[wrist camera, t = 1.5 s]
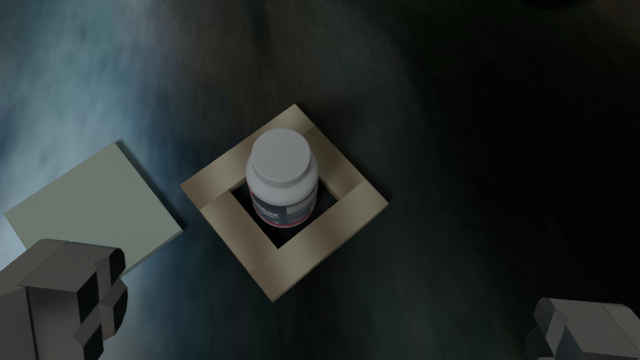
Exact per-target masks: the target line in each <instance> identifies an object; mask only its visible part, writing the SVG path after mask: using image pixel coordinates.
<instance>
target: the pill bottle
mask: <svg viewBox="0 0 640 360" xmlns="http://www.w3.org/2000/svg"><path fill="white" fill-rule="evenodd" d="M318 178H319V170H318V163H317V160H316V158H315V156H314V154H313V153H312V151H311V150H310V147H309V144H308V142H307V141H306V139H305V138H304V137H303V136H302V135H301V134H300V133H298V132H296V131H294V130H292V129H288V128H275V129H271V130H269V131H266V132H265V133H263V134H262V135H261V136H259V137H258V139H257V140H256V141H255V143H254V145H253V148H252V152H251V154H250V156H249V158H248V161H247V164H246V179H247V183H248V187H249V190H250V194H251V197H252V201H253V205H254V208H255V210H256V212H257V214H258V215H259V216H260V217H261V218H262V219H263V220H264V221H265V222H267V223H268V224H270V225H273V226H276V227H281V228H287V227H293V226H296V225H298V224H300V223H302V222H303V221H305V220H306V219H307V218H308V217H309V216H310V215H311V213H312V211H313V210H314V207H315V204H316V199H317V189H318Z"/></svg>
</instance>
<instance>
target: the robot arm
mask: <svg viewBox="0 0 640 360" xmlns="http://www.w3.org/2000/svg"><path fill="white" fill-rule="evenodd" d="M125 269H126V263H125V253H124V252H123V251H122V249H121V248H116V247H109V246H101V245H94V244H87V243H79V242H70V241H66V240H56V239H40V240H39V241H37V242H36V243H35V244H34V245H33V246H31V247H30V248H29V249H28V250H26V251H25V252H24V253H23V254H21V255H20V256H19V257H18V258H16V259H15V260H14V261H13V262H12V263H10V264H9V265H8V266H7V267H5V268H4V269H3V270H2V271H0V360H98V359H99V357H100V356H101V354H102V353H103V351H104V348H103V341H104V340H106V339H108V338H110V337H112V336H113V335H115V334H116V332H117V330H118V329H119V327H120V326H121V324H122V321H123V318H124V315H125V313H126V309H127V300H128V293H127V286H126V285H125V284H124V283H123V281H122V280H121V279H120V277H119V276H120V275H121V274H122V272H123V271H124V270H125ZM534 318H535V320H536V322H537V324H538V326H537V327H536V328H535V329H534V330H532V331H531V332H530V333H528V334H527V338H526V342H525V345H524V357H523V360H640V320H639V319H638V317H637V316H636V315H635V314H634V313H633V312H632V310H631V309H630V308H628V307H626V306H624V305H622V304H610V303H597V302H584V301H573V300H562V299H551V298H541V300H540V301H539V302H538V304H537V306H536V309H535V312H534Z"/></svg>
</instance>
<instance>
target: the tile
mask: <svg viewBox="0 0 640 360" xmlns="http://www.w3.org/2000/svg"><path fill="white" fill-rule="evenodd" d="M4 215H5V217H6V218H7V220H8V221H9V223H10V224H11V226H12V228H13V229H14V231H15V232H16V234H17V235H18V237H19V238H20V240H21V241H22V243H23V244H24V246H25V248H26V249H27V250H28V249H29V248H30V247H31V246H33V245H34V244H35V243H36V242H37V241H39V240H40V239H56V240H66V241H70V242H79V243H87V244H94V245H101V246H109V247H116V248H121V249H122V251H123V252H124V253H125V263H126V269H125V270H124V271H123V272H122V274H121V275H120V276H119V277H120V278H121V277H123V276H124V275H125V274H127V273H128V272H129V271H131V270H132V269H133V268H135V267H136V266H137V265H139V264H140V263H141V262H143V261H144V260H145V259H147V258H148V257H150V256H151V255H152V254H154V253H155V252H156V251H158V250H159V249H160V248H162V247H163V246H164V245H166V244H167V243H168V242H170V241H171V240H172V239H174V238H175V237H177V236H178V235H179V234H181V233H182V232H183V230H182V229H181V228H180V226H179V225H178V224H177V223H176V221H175V220H174V219H173V217H172V216H171V215H170V213H169V212H168V211H167V210H166V208H165V207H164V206H163V204H162V203H161V202H160V201H159V199H158V198H157V197H156V195H155V194H154V193H153V191H152V190H151V189H150V188H149V186H148V185H147V184H146V182H145V181H144V180H143V179H142V177H141V176H140V175H139V173H138V172H137V171H136V170H135V168H134V167H133V166H132V164H131V163H130V162H129V160H128V159H127V158H126V157H125V155H124V154H123V153H122V151H121V150H120V149H119V148H118V146H117V145H116V144H115V142H113V143H111V144H110V145H108V146H107V147H105V148H104V149H102V150H101V151H99V152H97V153H96V154H94V155H93V156H91V157H90V158H88V159H87V160H85V161H84V162H82V163H81V164H79V165H78V166H76V167H74V168H73V169H71V170H70V171H68V172H67V173H65V174H64V175H62V176H61V177H59V178H58V179H56V180H55V181H53V182H51V183H50V184H48V185H47V186H45V187H44V188H42V189H41V190H39V191H38V192H36V193H35V194H33V195H32V196H30V197H28V198H27V199H25V200H24V201H22V202H21V203H19V204H18V205H16V206H15V207H13V208H12V209H10V210H9V211H7V212H5V213H4Z"/></svg>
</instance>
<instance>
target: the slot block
mask: <svg viewBox="0 0 640 360" xmlns="http://www.w3.org/2000/svg"><path fill="white" fill-rule="evenodd" d="M275 128H288V129H292V130H294V131H296V132H298V133H300V134H301V135H302V136H303V137H304V138H305V139H306V141H307V142H308V144H309V147H310V150H311V151H312V153H313V154H314V156H315V158H316V160H317V163H318V170H319V178H318V180H319V181H320V182H321V183H322V184H323V185H324V186H325V187H326V189H327V190H328V191H329V192H330V193H331V194H332V195H333V196H334V197H335V198H336V200H337V201H338V202H337V203H336V204H334V205H333V206H332V207H331V208H329V209H328V210H327V211H326V212H324V213H323V214H322V215H321V216H319V217H318V218H317V219H316V220H314V221H313V222H312V223H311V224H309V225H308V226H307V227H306V228H304V229H303V230H302V231H301V232H299V233H298V234H297V235H296V236H294V237H293V238H292V239H291V240H289V241H288V242H287V243H286V244H284V245H283V246H282V247H281V248H279V249H277V248H276V247H275V245H274V244H273V243H272V242H271V241H270V239H269V238H268V237H267V236H266V235H265V233H264V232H263V231H262V230H261V229H260V227H259V226H258V225H257V224H256V223H255V221H254V220H253V219H252V218H251V217H250V215H249V214H248V213H247V212H246V211H245V209H244V208H243V207H242V206H241V205H240V203H239V202H238V201H237V200H236V199H235V197H234V196H233V195H232V194H231V192H233V191H234V190H235V189H237V188H238V187H239V186H241V185H242V184H243V183H245V182H246V181H247V179H246V164H247V161H248V158H249V156H250V154H251V152H252V148H253V145H254V143H255V141H256V140H257V139H258V137H259V136H261V135H262V134H263V133H265V132H266V131H269V130H271V129H275ZM180 186H181V188H182V189H183V191H184V192H185V193H186V194H187V196H188V197H189V198H190V199H191V201H192V202H193V203H194V204H195V206H196V207H197V208H198V209H199V211H200V212H201V213H202V214H203V216H204V217H205V218H206V219H207V221H208V222H209V223H210V224H211V226H212V227H213V228H214V229H215V231H216V232H217V233H218V234H219V236H220V237H221V238H222V239H223V241H224V242H225V243H226V244H227V246H228V247H229V248H230V249H231V251H232V252H233V253H234V254H235V256H236V257H237V258H238V260H239V261H240V262H241V263H242V265H243V266H244V267H245V268H246V270H247V271H248V272H249V273H250V275H251V276H252V277H253V278H254V280H255V281H256V282H257V283H258V285H259V286H260V287H261V288H262V290H263V291H264V292H265V293H266V295H267V296H268V297H269V298H270V300H271V301H272V302H274V301H275V300H276V299H278V298H279V297H280V296H281V295H282V294H284V293H285V292H286V291H287V290H288V289H290V288H291V287H292V286H293V285H294V284H296V283H297V282H298V281H299V280H300V279H302V278H303V277H304V276H305V275H306V274H308V273H309V272H310V271H311V270H312V269H314V268H315V267H316V266H317V265H318V264H320V263H321V262H322V261H323V260H324V259H326V258H327V257H328V256H329V255H330V254H332V253H333V252H334V251H335V250H336V249H338V248H339V247H340V246H341V245H342V244H344V243H345V242H346V241H347V240H348V239H350V238H351V237H352V236H353V235H354V234H356V233H357V232H358V231H359V230H360V229H361V228H363V227H364V226H365V225H366V224H367V223H369V222H370V221H371V220H372V219H373V218H375V217H376V216H377V215H378V214H379V213H381V212H382V211H383V210H384V209H385V208H387V206H388V204H389V203H388V202H387V201H386V200H385V199H384V198H383V197H382V196H381V195H380V194H379V193H378V192H377V191H376V189H375V188H374V187H373V186H372V185H371V184H370V183H369V182H368V181H367V180H366V179H365V178H364V177H363V176H362V175H361V174H360V173H359V171H358V170H357V169H356V168H355V167H354V166H353V165H352V164H351V163H350V162H349V161H348V160H347V159H346V158H345V157H344V156H343V154H342V153H341V152H340V151H339V150H338V149H337V148H336V147H335V146H334V145H333V144H332V143H331V142H330V141H329V140H328V139H327V138H326V136H325V135H324V134H323V133H322V132H321V131H320V130H319V129H318V128H317V127H316V126H315V125H314V124H313V123H312V122H311V121H310V120H309V118H308V117H307V116H306V115H305V114H304V113H303V112H302V111H301V110H300V109H299V108H298V107H297V106H296V105H295V104H294V105H293V106H291V107H290V108H288V109H287V110H286V111H284V112H283V113H281V114H280V115H278V116H277V117H276V118H274V119H273V120H271V121H270V122H269V123H267V124H266V125H264V126H263V127H262V128H260V129H259V130H257V131H256V132H254V133H253V134H252V135H250V136H249V137H247V138H246V139H245V140H243V141H242V142H240V143H239V144H238V145H236V146H235V147H233V148H232V149H230V150H229V151H228V152H226V153H225V154H223V155H222V156H221V157H219V158H218V159H216V160H215V161H214V162H212V163H211V164H209V165H208V166H206V167H205V168H204V169H202V170H201V171H199V172H198V173H197V174H195V175H194V176H192V177H191V178H190V179H188V180H187V181H185V182H184V183H183V184H181V185H180Z"/></svg>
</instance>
